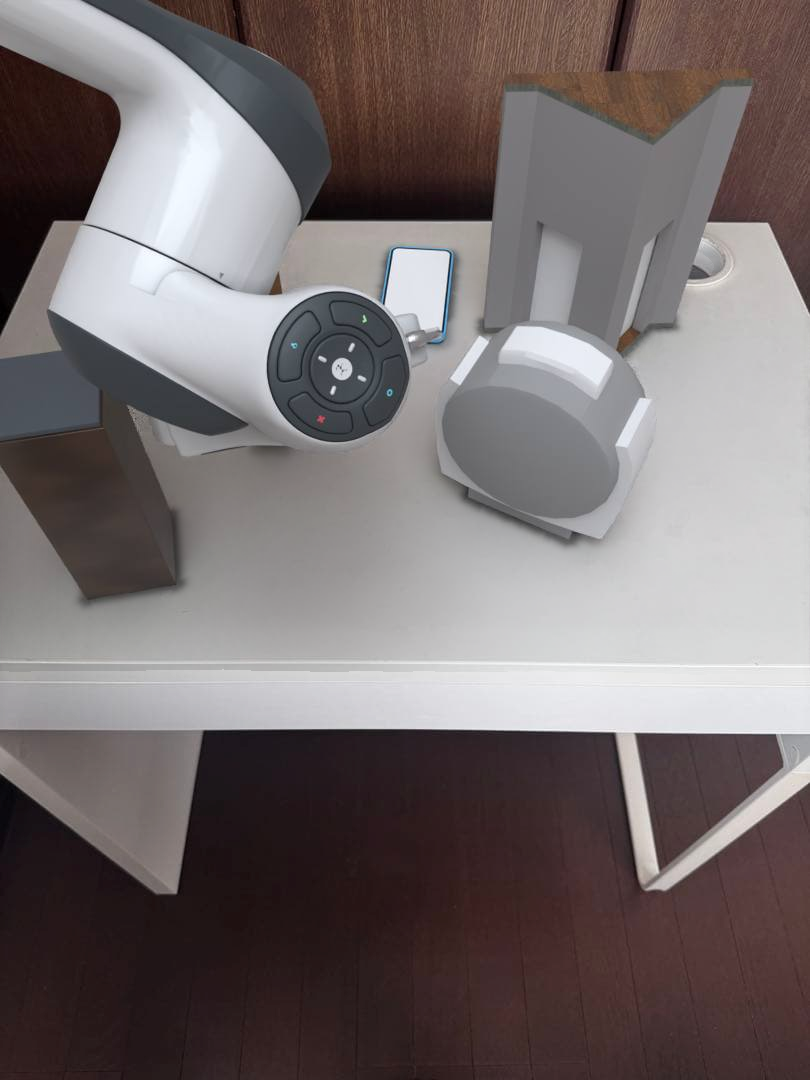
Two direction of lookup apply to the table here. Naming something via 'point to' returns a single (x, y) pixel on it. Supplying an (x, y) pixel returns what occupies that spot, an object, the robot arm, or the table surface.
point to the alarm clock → (545, 427)
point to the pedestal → (97, 502)
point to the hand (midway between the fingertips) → (275, 375)
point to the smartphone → (419, 285)
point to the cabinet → (606, 194)
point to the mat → (45, 397)
